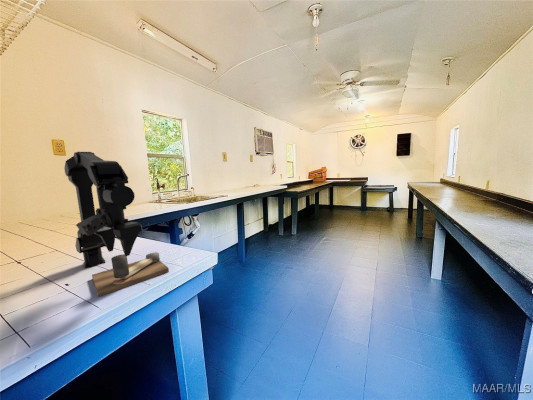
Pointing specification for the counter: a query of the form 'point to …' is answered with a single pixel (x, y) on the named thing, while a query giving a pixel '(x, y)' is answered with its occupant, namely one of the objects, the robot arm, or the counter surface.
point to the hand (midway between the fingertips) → (118, 253)
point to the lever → (122, 266)
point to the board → (109, 284)
